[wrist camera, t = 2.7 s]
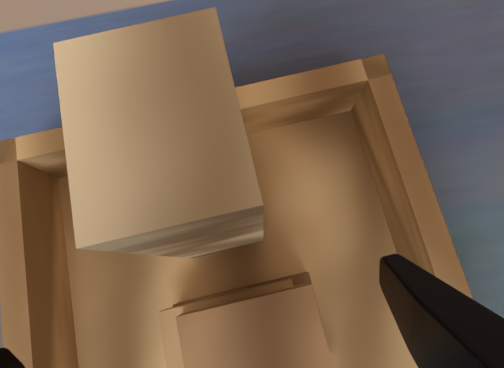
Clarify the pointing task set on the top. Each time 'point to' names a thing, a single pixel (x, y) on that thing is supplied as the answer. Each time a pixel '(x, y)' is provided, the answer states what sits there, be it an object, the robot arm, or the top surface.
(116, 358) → the pine rack
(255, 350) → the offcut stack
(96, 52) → the square wooden post
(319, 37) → the top surface
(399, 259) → the robot arm
